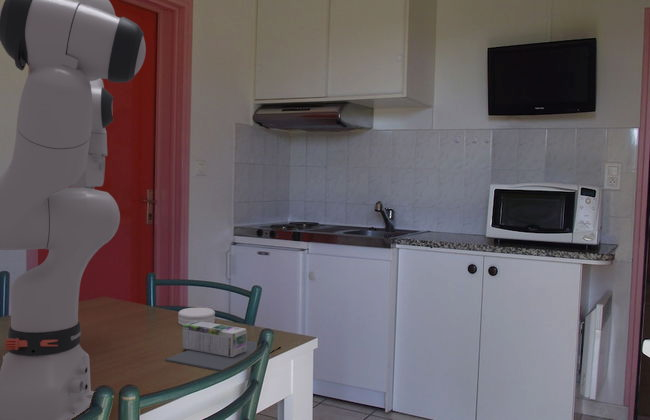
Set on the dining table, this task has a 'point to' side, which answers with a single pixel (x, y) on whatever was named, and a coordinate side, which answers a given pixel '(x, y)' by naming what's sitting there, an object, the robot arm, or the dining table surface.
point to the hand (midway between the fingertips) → (87, 206)
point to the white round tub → (196, 315)
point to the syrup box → (214, 338)
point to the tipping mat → (210, 358)
